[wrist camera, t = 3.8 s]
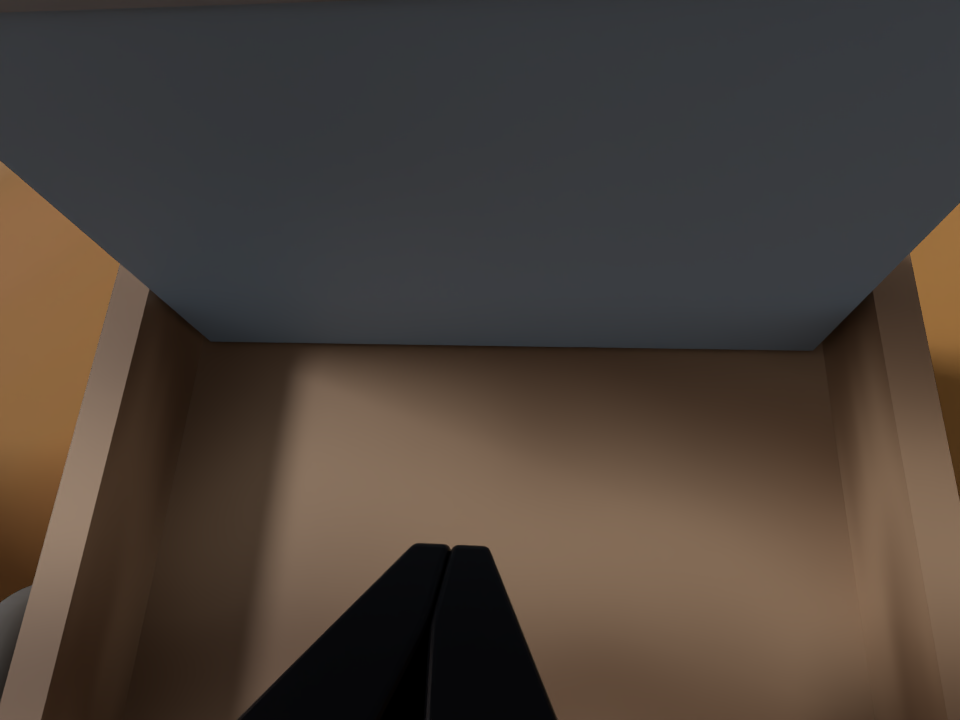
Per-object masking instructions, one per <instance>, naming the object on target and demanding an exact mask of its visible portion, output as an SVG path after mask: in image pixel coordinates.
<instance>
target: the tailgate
mask: <svg viewBox="0 0 960 720" xmlns="http://www.w3.org/2000/svg"><path fill="white" fill-rule="evenodd" d="M0 161H1V162H3V163H4V164H5V165H6V166H7V167H8V168H10V169H11V170H12V171H13V172H14V173H15V174H17V175H18V176H19V177H20V178H21V179H22V180H24V181H25V182H26V183H27V184H28V185H29V186H31V187H32V188H33V189H34V190H35V191H36V192H37V193H39V194H40V195H41V196H42V197H43V198H44V199H46V200H47V201H48V202H49V203H50V204H51V205H53V206H54V207H55V208H56V209H57V210H58V211H60V212H61V213H62V214H63V215H64V216H65V217H67V218H68V219H69V220H70V221H71V222H72V223H73V224H75V225H76V226H77V227H78V228H79V229H80V230H82V231H83V232H84V233H85V234H86V235H87V236H89V237H90V238H91V239H92V240H93V241H94V242H96V243H97V244H98V245H99V246H100V247H101V248H103V249H104V250H105V251H106V252H107V253H108V254H109V255H111V256H112V257H113V258H114V259H115V260H116V261H118V262H119V263H120V264H121V265H122V266H123V267H125V268H126V269H127V270H128V271H129V272H130V273H132V274H133V275H134V276H135V277H136V278H137V279H139V280H140V281H141V282H142V283H143V284H144V285H145V286H147V287H148V288H149V289H150V290H151V291H152V292H154V293H155V294H156V295H157V296H158V297H159V298H161V299H162V300H163V301H164V302H165V303H166V304H168V305H169V306H170V307H171V308H172V309H173V310H175V311H176V312H177V313H178V314H179V315H180V316H181V317H183V318H184V319H185V320H186V321H187V322H188V323H190V324H191V325H192V326H193V327H194V328H195V329H197V330H198V331H199V332H200V333H201V334H202V335H204V336H205V337H206V338H207V339H208V340H209V341H211V342H270V343H335V344H401V345H467V346H532V347H598V348H664V349H730V350H795V351H813V350H814V349H815V348H816V347H817V346H818V345H819V344H820V343H821V342H822V341H823V340H824V339H825V338H826V337H827V336H828V335H829V334H830V333H831V332H832V331H833V330H834V329H835V328H836V327H837V326H838V325H839V324H840V323H841V322H842V321H843V320H844V319H845V318H846V317H847V316H848V315H849V314H850V313H851V312H852V311H853V310H854V309H855V308H856V307H857V306H858V305H859V304H860V303H861V302H862V301H863V300H864V299H865V298H866V297H867V296H868V295H869V294H870V293H871V292H872V291H873V290H874V289H875V288H876V287H877V286H878V285H879V284H880V283H881V282H882V281H883V280H884V279H885V278H886V277H887V276H888V275H889V274H890V273H891V272H892V271H893V270H894V269H895V268H896V267H897V265H898V264H899V263H900V262H901V261H902V260H903V259H904V258H905V257H906V256H907V255H908V254H909V253H910V252H911V251H912V250H913V249H914V248H915V247H916V246H917V245H918V244H919V243H920V242H921V241H922V240H923V239H924V238H925V237H926V236H927V235H928V234H929V233H930V232H931V231H932V230H933V229H934V228H935V227H936V226H937V225H938V224H939V223H940V222H941V221H942V220H943V219H944V218H945V217H946V216H947V215H948V214H949V213H950V212H951V211H952V210H953V209H954V208H955V207H956V206H957V205H958V204H959V203H960V0H0Z"/></svg>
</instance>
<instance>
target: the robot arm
mask: <svg viewBox="0 0 960 720" xmlns="http://www.w3.org/2000/svg"><path fill="white" fill-rule="evenodd" d="M237 720H558V719H557V716H556V714H555V711H554V709H553V706H552V704H551V701H550V699H549V696H548V694H547V691H546V689H545V686H544V684H543V681H542V679H541V676H540V674H539V671H538V669H537V666H536V664H535V661H534V658H533V656H532V653H531V651H530V648H529V646H528V643H527V641H526V638H525V636H524V633H523V631H522V628H521V626H520V623H519V621H518V618H517V616H516V613H515V611H514V608H513V606H512V603H511V601H510V598H509V596H508V593H507V591H506V588H505V586H504V583H503V581H502V578H501V576H500V573H499V571H498V568H497V566H496V563H495V561H494V558H493V556H492V553H491V551H490V550H489V548H488V547H486V546H478V545H455V546H454V547H453V548H452V549H450V547H449V546H448V545H447V544H435V543H416V544H414V545H412V546H411V547H410V548H408V549H407V550H406V551H405V552H404V553H403V554H402V555H401V556H400V557H399V558H398V559H397V560H396V561H395V562H394V563H393V564H392V565H391V566H390V567H389V568H388V569H387V570H386V571H385V572H384V573H383V574H382V575H381V576H380V577H379V578H378V579H377V580H376V581H375V582H374V583H373V584H372V585H371V586H370V587H369V588H368V589H367V590H366V591H365V592H364V593H363V594H362V595H361V596H360V597H359V598H358V599H357V600H356V601H355V602H354V603H353V604H352V605H351V606H350V607H349V608H348V609H347V610H346V611H345V612H344V613H343V614H342V615H341V616H340V617H339V618H338V619H337V620H336V621H335V622H334V623H333V624H332V625H331V626H330V627H329V628H328V629H327V630H326V631H325V632H324V633H323V634H322V635H321V636H320V637H319V638H318V639H317V640H316V641H315V642H314V643H313V644H312V645H311V646H310V647H309V648H308V649H307V650H306V651H305V652H304V653H303V654H302V655H301V656H300V657H299V658H298V659H297V660H296V661H295V662H294V663H293V664H292V665H291V666H290V667H289V668H288V669H287V670H286V671H285V672H284V673H283V674H282V675H281V676H280V677H279V678H278V679H277V680H276V681H275V682H274V683H273V684H272V685H271V686H270V687H269V688H268V689H267V690H266V691H265V692H264V693H263V694H262V695H261V696H260V697H259V698H258V699H257V700H256V701H255V702H254V703H253V704H252V705H251V706H250V707H249V708H248V709H247V710H246V711H245V712H244V713H243V714H242V715H241V716H240V717H239V718H238V719H237Z"/></svg>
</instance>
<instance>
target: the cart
mask: <svg viewBox="0 0 960 720" xmlns="http://www.w3.org/2000/svg"><path fill="white" fill-rule="evenodd" d="M416 543H435V544H447V545H448V546H449V547H450V549H452V548H453V547H454V546H455V545H478V546H486V547H488V548H489V550H490V551H491V553H492V556H493V558H494V561H495V563H496V566H497V568H498V571H499V573H500V576H501V578H502V581H503V583H504V586H505V588H506V591H507V593H508V596H509V598H510V601H511V603H512V606H513V608H514V611H515V613H516V616H517V618H518V621H519V623H520V626H521V628H522V631H523V633H524V636H525V638H526V641H527V643H528V646H529V648H530V651H531V653H532V656H533V658H534V661H535V664H536V666H537V669H538V671H539V674H540V676H541V679H542V681H543V684H544V686H545V689H546V691H547V694H548V696H549V699H550V701H551V704H552V706H553V709H554V711H555V714H556V716H557V719H558V720H960V500H959V495H958V490H957V485H956V480H955V475H954V470H953V465H952V460H951V455H950V450H949V446H948V441H947V436H946V431H945V426H944V421H943V416H942V411H941V406H940V401H939V396H938V391H937V386H936V381H935V376H934V371H933V366H932V361H931V356H930V351H929V346H928V341H927V336H926V332H925V327H924V322H923V317H922V312H921V307H920V302H919V297H918V292H917V287H916V282H915V277H914V272H913V267H912V262H911V257H910V253H909V254H908V255H907V256H906V257H905V258H904V259H903V260H902V261H901V262H900V263H899V264H898V265H897V267H896V268H895V269H894V270H893V271H892V272H891V273H890V274H889V275H888V276H887V277H886V278H885V279H884V280H883V281H882V282H881V283H880V284H879V285H878V286H877V287H876V288H875V289H874V290H873V291H872V292H871V293H870V294H869V295H868V296H867V297H866V298H865V299H864V300H863V301H862V302H861V303H860V304H859V305H858V306H857V307H856V308H855V309H854V310H853V311H852V312H851V313H850V314H849V315H848V316H847V317H846V318H845V319H844V320H843V321H842V322H841V323H840V324H839V325H838V326H837V327H836V328H835V329H834V330H833V331H832V332H831V333H830V334H829V335H828V336H827V337H826V338H825V339H824V340H823V341H822V342H821V343H820V344H819V345H818V346H817V347H816V348H815V349H814V350H813V351H795V350H730V349H664V348H598V347H532V346H467V345H401V344H335V343H270V342H211V341H209V340H208V339H207V338H206V337H205V336H204V335H202V334H201V333H200V332H199V331H198V330H197V329H195V328H194V327H193V326H192V325H191V324H190V323H188V322H187V321H186V320H185V319H184V318H183V317H181V316H180V315H179V314H178V313H177V312H176V311H175V310H173V309H172V308H171V307H170V306H169V305H168V304H166V303H165V302H164V301H163V300H162V299H161V298H159V297H158V296H157V295H156V294H155V293H154V292H152V291H151V290H150V289H149V288H148V287H147V286H145V285H144V284H143V283H142V282H141V281H140V280H139V279H137V278H136V277H135V276H134V275H133V274H132V273H130V272H129V271H128V270H127V269H126V268H125V267H123V266H122V265H121V264H120V266H119V269H118V273H117V277H116V280H115V284H114V288H113V291H112V295H111V299H110V302H109V306H108V310H107V313H106V317H105V321H104V324H103V328H102V332H101V335H100V339H99V343H98V346H97V350H96V354H95V357H94V361H93V365H92V368H91V372H90V376H89V379H88V383H87V387H86V390H85V394H84V398H83V401H82V405H81V409H80V412H79V416H78V420H77V423H76V427H75V431H74V434H73V438H72V442H71V445H70V449H69V453H68V456H67V460H66V464H65V467H64V471H63V475H62V478H61V482H60V486H59V489H58V493H57V496H56V500H55V504H54V507H53V511H52V515H51V518H50V522H49V526H48V529H47V533H46V537H45V540H44V544H43V548H42V551H41V555H40V559H39V562H38V566H37V570H36V573H35V577H34V581H33V584H32V585H31V586H29V587H26V588H23V589H21V590H19V591H17V592H16V593H14V594H12V595H10V596H9V597H7V598H6V599H5V600H3V601H2V602H0V720H237V719H238V718H239V717H240V716H241V715H242V714H243V713H244V712H245V711H246V710H247V709H248V708H249V707H250V706H251V705H252V704H253V703H254V702H255V701H256V700H257V699H258V698H259V697H260V696H261V695H262V694H263V693H264V692H265V691H266V690H267V689H268V688H269V687H270V686H271V685H272V684H273V683H274V682H275V681H276V680H277V679H278V678H279V677H280V676H281V675H282V674H283V673H284V672H285V671H286V670H287V669H288V668H289V667H290V666H291V665H292V664H293V663H294V662H295V661H296V660H297V659H298V658H299V657H300V656H301V655H302V654H303V653H304V652H305V651H306V650H307V649H308V648H309V647H310V646H311V645H312V644H313V643H314V642H315V641H316V640H317V639H318V638H319V637H320V636H321V635H322V634H323V633H324V632H325V631H326V630H327V629H328V628H329V627H330V626H331V625H332V624H333V623H334V622H335V621H336V620H337V619H338V618H339V617H340V616H341V615H342V614H343V613H344V612H345V611H346V610H347V609H348V608H349V607H350V606H351V605H352V604H353V603H354V602H355V601H356V600H357V599H358V598H359V597H360V596H361V595H362V594H363V593H364V592H365V591H366V590H367V589H368V588H369V587H370V586H371V585H372V584H373V583H374V582H375V581H376V580H377V579H378V578H379V577H380V576H381V575H382V574H383V573H384V572H385V571H386V570H387V569H388V568H389V567H390V566H391V565H392V564H393V563H394V562H395V561H396V560H397V559H398V558H399V557H400V556H401V555H402V554H403V553H404V552H405V551H406V550H407V549H408V548H410V547H411V546H412V545H414V544H416Z"/></svg>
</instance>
